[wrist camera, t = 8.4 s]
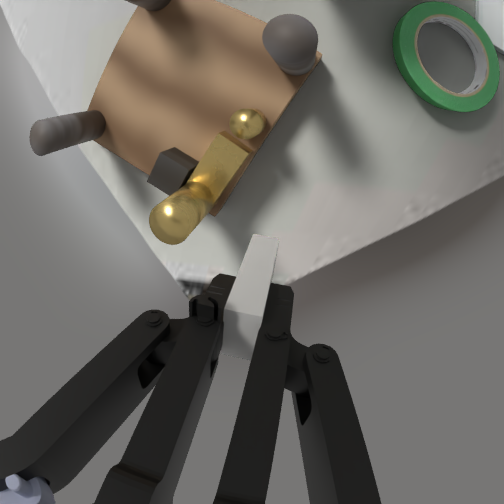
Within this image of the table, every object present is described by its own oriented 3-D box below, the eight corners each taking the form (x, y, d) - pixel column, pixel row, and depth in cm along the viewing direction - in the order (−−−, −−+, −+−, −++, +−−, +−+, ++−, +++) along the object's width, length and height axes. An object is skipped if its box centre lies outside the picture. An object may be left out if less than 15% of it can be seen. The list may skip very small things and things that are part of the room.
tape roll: (409, 115, 23) (418, 117, 21) (376, 10, 19) (382, 1, 17) (496, 107, 20) (509, 110, 18) (468, 10, 16) (480, 4, 13)
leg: (244, 100, 23) (219, 98, 16) (275, 121, 23) (262, 127, 17) (181, 196, 28) (142, 227, 21) (208, 215, 28) (177, 252, 22)
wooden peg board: (164, -12, 20) (108, -45, 11) (321, 58, 22) (328, 31, 13) (93, 128, 29) (26, 147, 20) (221, 208, 31) (183, 255, 22)
